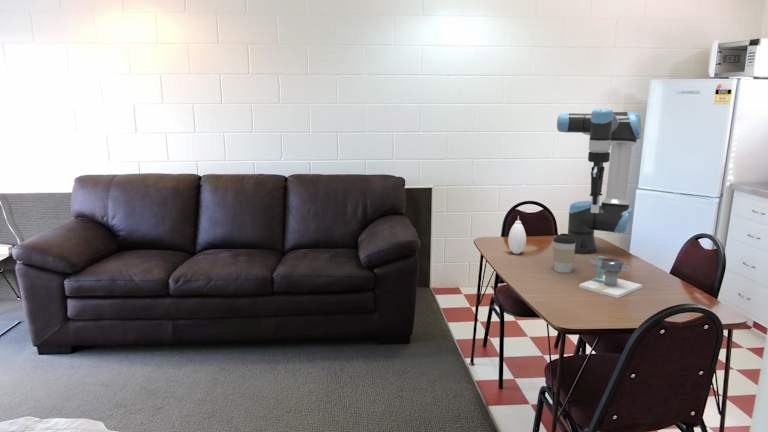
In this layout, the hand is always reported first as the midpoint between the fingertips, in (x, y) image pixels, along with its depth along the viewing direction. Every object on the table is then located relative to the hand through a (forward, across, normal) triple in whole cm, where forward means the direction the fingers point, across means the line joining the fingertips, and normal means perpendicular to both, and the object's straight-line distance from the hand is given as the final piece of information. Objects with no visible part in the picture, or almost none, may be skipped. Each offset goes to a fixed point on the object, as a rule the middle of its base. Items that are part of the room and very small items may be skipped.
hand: (594, 212), depth 204 cm
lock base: (+27, -7, -9) cm, 29 cm away
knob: (+19, -7, -8) cm, 22 cm away
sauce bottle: (+28, +19, +36) cm, 50 cm away
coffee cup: (+27, +5, +12) cm, 30 cm away
